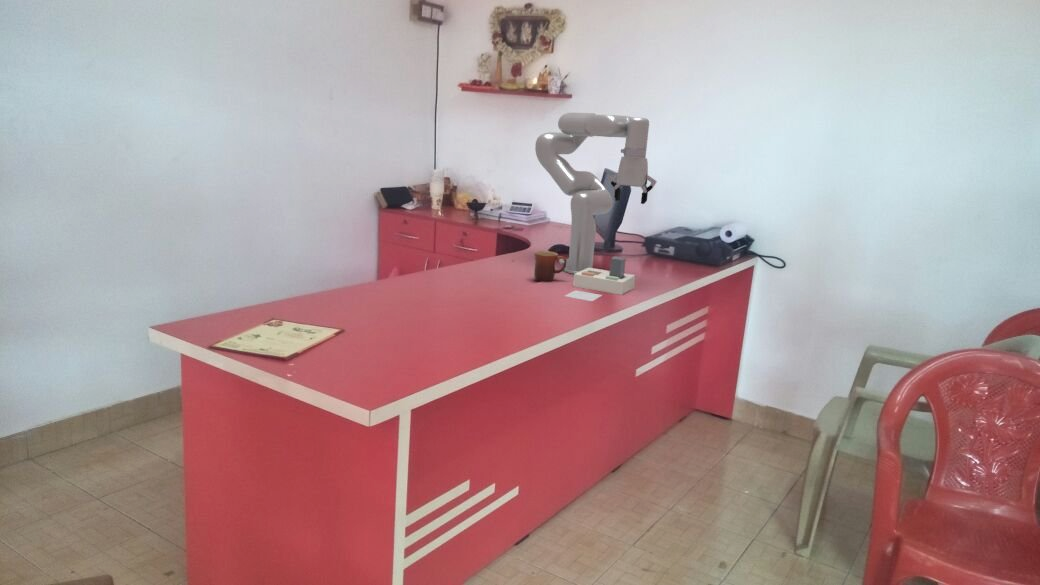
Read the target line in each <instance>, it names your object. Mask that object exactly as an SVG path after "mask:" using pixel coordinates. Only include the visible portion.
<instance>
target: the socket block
mask: <svg viewBox="0 0 1040 585" xmlns="http://www.w3.org/2000/svg"><path fill="white" fill-rule="evenodd" d="M609 274H610V270H606V269H599V268H593V267H592V268H587V269H584V270H582V271H580V272H578V273H575V274H573V283H572V284H573V287H575V288H582V289H587V290H590V291H591V290H592V291H597V292H604V293H607V294H614V295H620V296H623V295H624V294H625V293H627V292H629V291H630V290H634V289H635V282H636V274H630V273H625V272H624V278H623V279H619V277H615V276H609Z"/></svg>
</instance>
